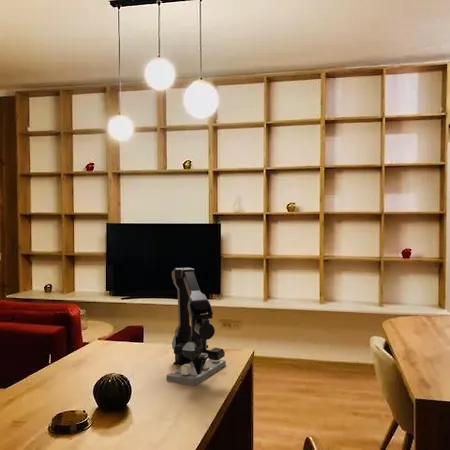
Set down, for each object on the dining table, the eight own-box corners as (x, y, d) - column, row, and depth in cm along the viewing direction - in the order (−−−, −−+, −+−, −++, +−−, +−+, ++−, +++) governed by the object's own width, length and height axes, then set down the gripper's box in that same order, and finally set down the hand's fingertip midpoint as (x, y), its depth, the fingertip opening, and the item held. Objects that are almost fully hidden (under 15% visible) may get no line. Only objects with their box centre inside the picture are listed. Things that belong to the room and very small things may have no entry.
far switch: (211, 361, 197) (211, 354, 197) (214, 359, 200) (214, 352, 200) (216, 362, 196) (216, 354, 196) (220, 360, 199) (220, 352, 199)
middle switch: (200, 368, 189) (200, 360, 189) (204, 365, 192) (204, 358, 192) (205, 369, 188) (205, 361, 188) (209, 366, 191) (209, 359, 191)
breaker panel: (166, 380, 182) (166, 375, 182) (200, 361, 205) (199, 356, 205) (194, 385, 177) (194, 380, 177) (225, 365, 199) (225, 360, 199)
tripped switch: (181, 374, 182) (181, 366, 182) (185, 371, 185) (185, 363, 185) (186, 375, 181) (186, 367, 181) (190, 372, 184) (190, 364, 184)
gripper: (165, 334, 177) (165, 377, 178) (210, 341, 169) (210, 385, 169) (181, 327, 187) (181, 367, 188) (225, 333, 179) (225, 375, 179)
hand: (198, 374), depth 181 cm, fingers closed
